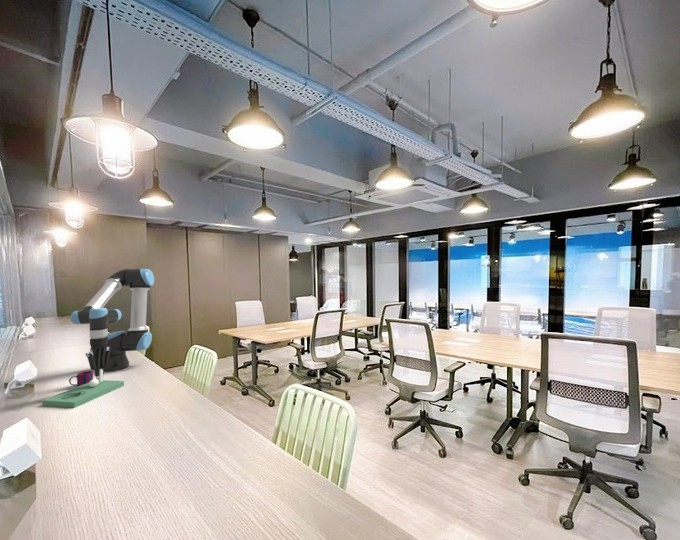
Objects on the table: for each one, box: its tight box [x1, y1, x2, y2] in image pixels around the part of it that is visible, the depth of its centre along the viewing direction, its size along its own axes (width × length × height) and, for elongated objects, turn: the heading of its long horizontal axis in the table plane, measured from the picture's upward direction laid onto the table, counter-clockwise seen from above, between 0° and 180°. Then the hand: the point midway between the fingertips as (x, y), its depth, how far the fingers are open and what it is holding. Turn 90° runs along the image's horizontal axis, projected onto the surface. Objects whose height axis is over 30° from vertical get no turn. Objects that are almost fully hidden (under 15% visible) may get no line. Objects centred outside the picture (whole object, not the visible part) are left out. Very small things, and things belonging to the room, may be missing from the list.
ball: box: [89, 378, 99, 387], centre depth 155 cm, size 4×4×4 cm
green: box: [41, 379, 125, 409], centre depth 151 cm, size 26×18×2 cm
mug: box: [68, 370, 94, 387], centre depth 164 cm, size 7×10×7 cm
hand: (99, 381), depth 158 cm, fingers closed
